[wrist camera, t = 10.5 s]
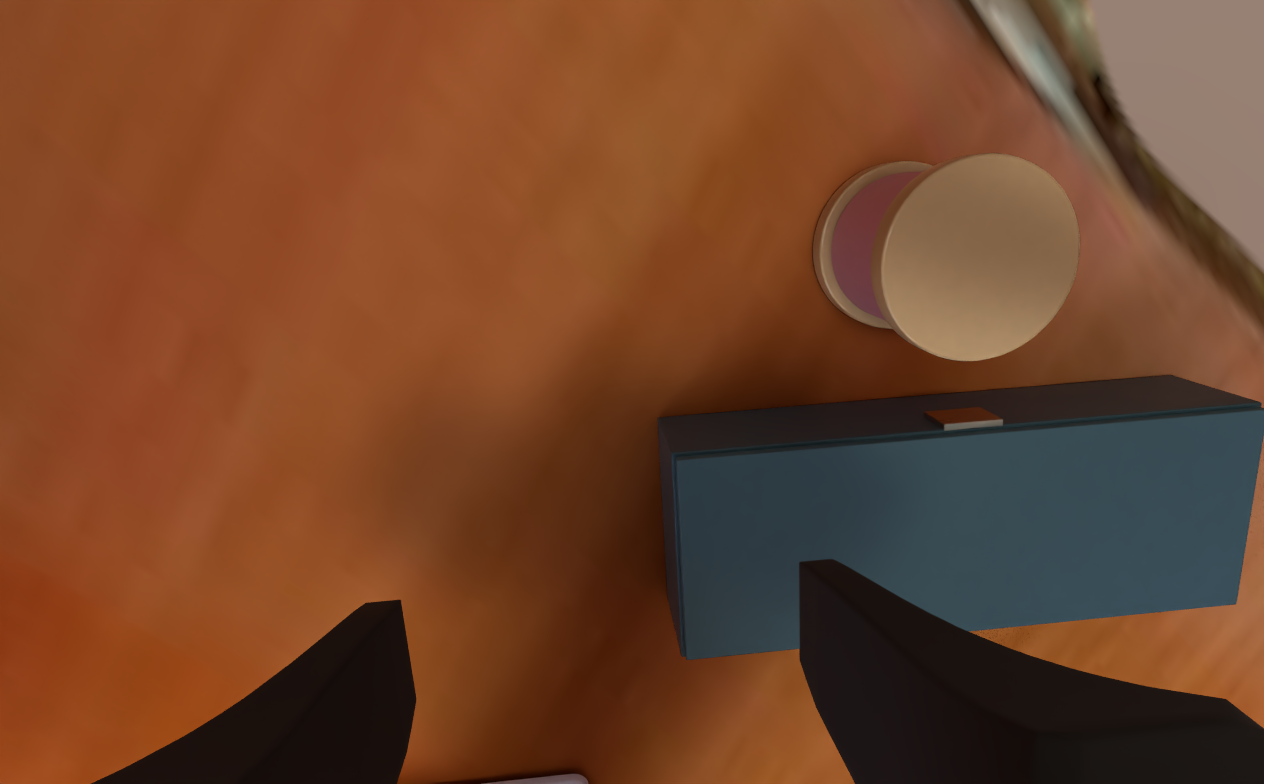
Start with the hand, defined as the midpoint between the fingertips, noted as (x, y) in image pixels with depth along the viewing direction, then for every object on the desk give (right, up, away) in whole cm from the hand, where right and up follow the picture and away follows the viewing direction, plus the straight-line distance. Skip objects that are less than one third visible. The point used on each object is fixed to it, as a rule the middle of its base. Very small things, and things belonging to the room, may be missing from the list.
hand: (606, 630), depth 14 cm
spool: (+8, +8, +8) cm, 14 cm away
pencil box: (+9, +1, +10) cm, 14 cm away
